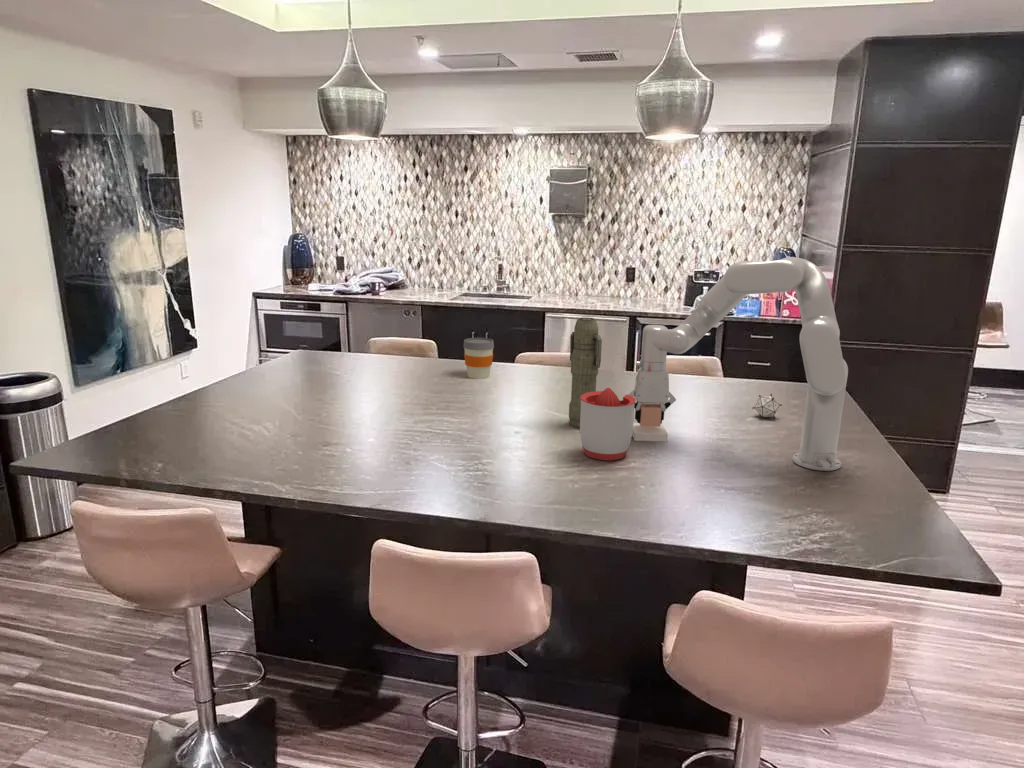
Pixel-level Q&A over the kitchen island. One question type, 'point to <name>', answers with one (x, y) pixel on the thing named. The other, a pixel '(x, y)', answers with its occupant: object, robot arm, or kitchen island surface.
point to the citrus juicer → (606, 424)
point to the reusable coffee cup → (478, 357)
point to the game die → (766, 406)
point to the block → (649, 433)
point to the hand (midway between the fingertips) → (649, 421)
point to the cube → (650, 414)
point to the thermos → (583, 364)
